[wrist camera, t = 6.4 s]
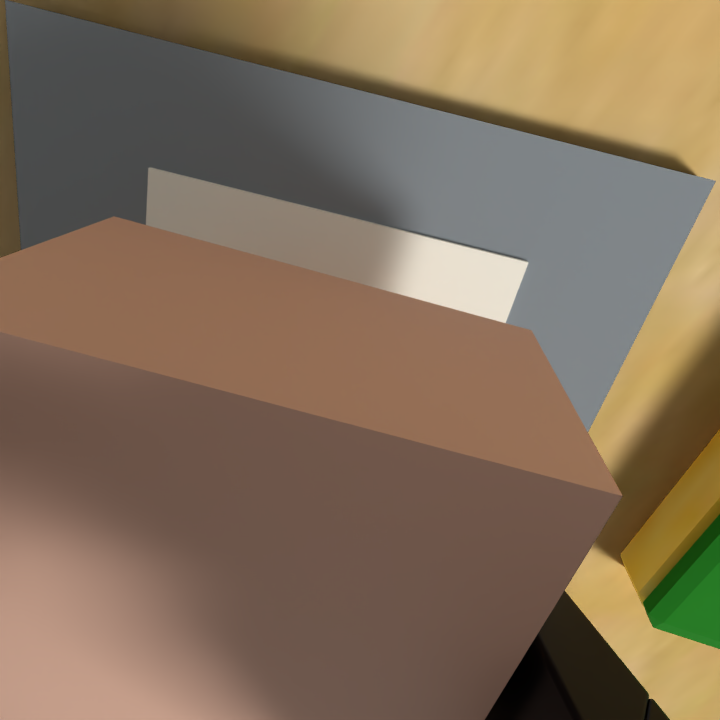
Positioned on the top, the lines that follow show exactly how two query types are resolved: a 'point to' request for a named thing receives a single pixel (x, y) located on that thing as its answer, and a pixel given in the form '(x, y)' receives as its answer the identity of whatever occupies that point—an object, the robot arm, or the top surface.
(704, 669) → the top surface
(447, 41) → the top surface
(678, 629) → the dish sponge
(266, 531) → the pink square block
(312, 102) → the slate mat
